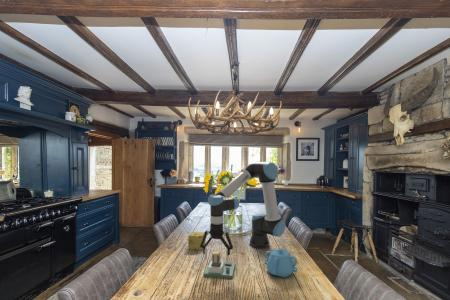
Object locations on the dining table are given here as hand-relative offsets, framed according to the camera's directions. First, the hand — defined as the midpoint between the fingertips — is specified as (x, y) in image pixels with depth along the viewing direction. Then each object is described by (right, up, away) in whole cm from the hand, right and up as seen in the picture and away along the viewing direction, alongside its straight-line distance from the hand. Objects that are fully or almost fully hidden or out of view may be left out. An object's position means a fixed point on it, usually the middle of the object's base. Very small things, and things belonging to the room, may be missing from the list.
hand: (216, 260), depth 142 cm
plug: (0, -5, 0) cm, 5 cm away
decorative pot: (+37, -7, 0) cm, 38 cm away
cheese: (-16, -8, +38) cm, 42 cm away
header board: (+2, -7, +3) cm, 8 cm away
